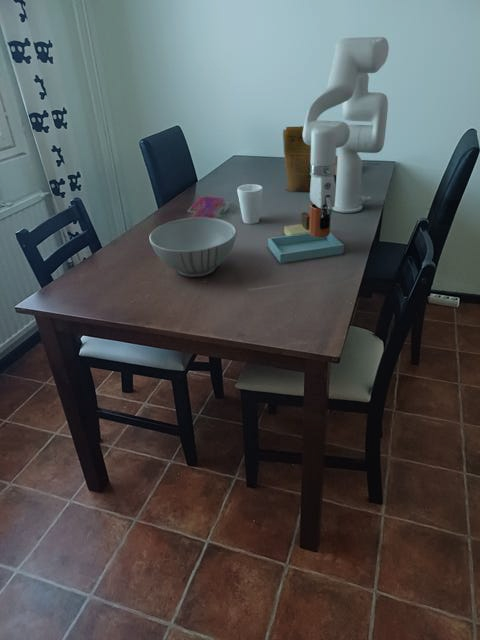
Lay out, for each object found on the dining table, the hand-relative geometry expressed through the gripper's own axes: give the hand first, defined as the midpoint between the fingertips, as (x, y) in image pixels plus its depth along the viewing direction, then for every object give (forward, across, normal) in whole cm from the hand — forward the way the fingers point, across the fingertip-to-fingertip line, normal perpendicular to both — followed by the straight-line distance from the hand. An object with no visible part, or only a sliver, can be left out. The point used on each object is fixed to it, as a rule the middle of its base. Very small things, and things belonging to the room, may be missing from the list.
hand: (319, 224), depth 155 cm
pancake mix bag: (+9, +60, -17) cm, 63 cm away
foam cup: (+9, +33, +15) cm, 38 cm away
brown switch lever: (+6, +13, 0) cm, 14 cm away
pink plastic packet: (+9, +45, +30) cm, 55 cm away
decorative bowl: (+9, -1, +42) cm, 43 cm away
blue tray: (+9, 0, +5) cm, 10 cm away
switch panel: (+9, +12, +1) cm, 15 cm away
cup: (+3, 0, 0) cm, 3 cm away
